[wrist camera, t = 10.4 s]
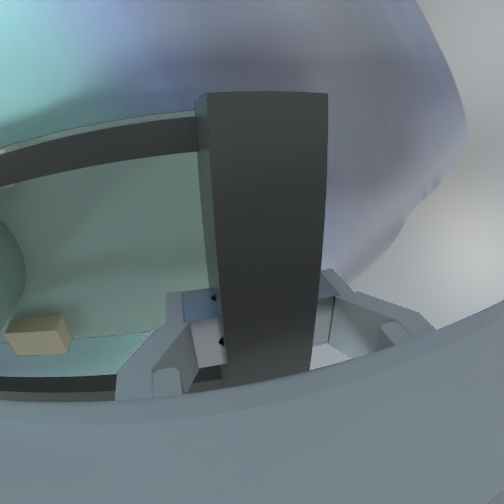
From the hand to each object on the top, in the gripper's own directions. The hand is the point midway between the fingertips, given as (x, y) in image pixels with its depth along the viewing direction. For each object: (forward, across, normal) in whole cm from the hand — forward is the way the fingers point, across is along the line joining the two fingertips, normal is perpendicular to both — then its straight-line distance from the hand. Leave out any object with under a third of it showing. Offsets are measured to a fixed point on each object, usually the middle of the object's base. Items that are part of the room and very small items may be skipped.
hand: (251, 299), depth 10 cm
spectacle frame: (+2, -7, 0) cm, 7 cm away
